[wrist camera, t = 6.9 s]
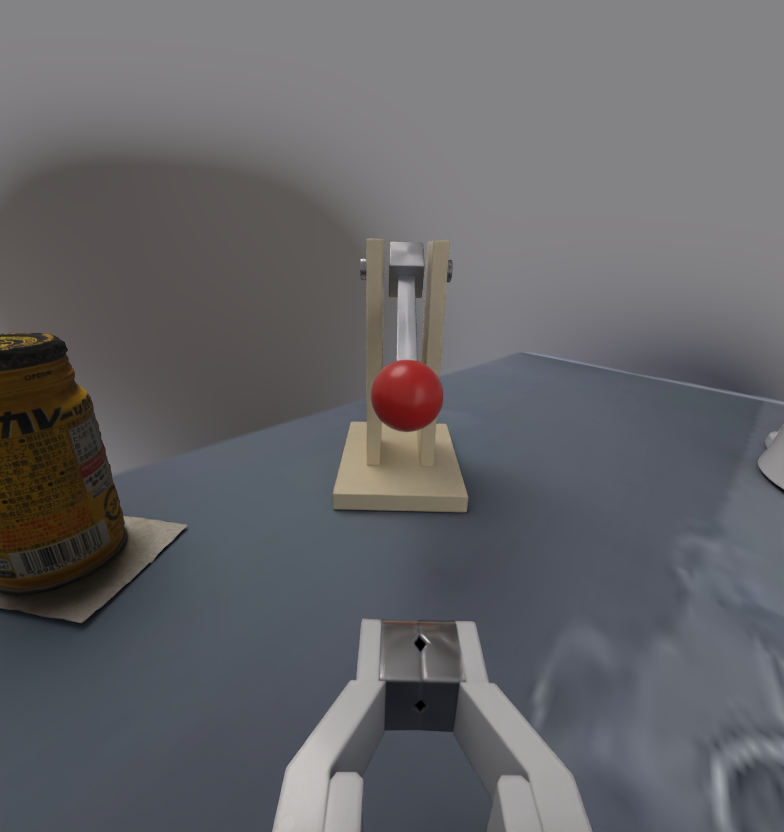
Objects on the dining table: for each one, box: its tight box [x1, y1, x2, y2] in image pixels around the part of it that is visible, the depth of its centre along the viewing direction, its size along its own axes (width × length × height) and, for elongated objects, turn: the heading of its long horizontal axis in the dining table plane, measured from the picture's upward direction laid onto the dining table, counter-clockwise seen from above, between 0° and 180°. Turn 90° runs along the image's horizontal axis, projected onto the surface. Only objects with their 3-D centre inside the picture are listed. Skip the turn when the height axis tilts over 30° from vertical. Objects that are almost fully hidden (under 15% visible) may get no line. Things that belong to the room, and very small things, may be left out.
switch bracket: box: [333, 239, 468, 512], centre depth 29 cm, size 12×9×17 cm
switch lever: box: [371, 242, 443, 432], centre depth 23 cm, size 14×4×4 cm, turn 179°
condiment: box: [0, 333, 187, 623], centre depth 20 cm, size 7×8×12 cm
